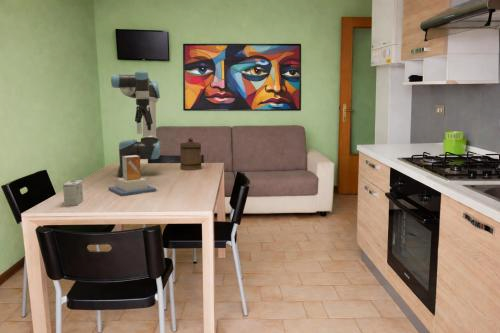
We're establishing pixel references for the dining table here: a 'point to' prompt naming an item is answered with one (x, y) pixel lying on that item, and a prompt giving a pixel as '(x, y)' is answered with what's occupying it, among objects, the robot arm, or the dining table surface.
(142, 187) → the build board
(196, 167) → the wooden container
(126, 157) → the small box
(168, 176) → the dining table surface
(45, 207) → the dining table surface
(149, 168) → the dining table surface
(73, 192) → the light bulb box
